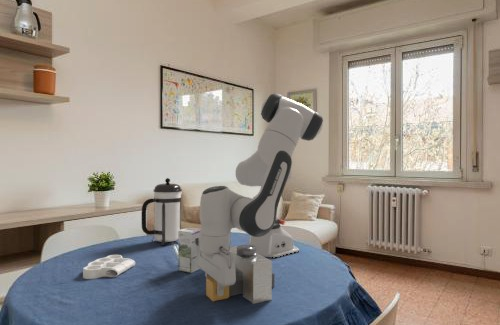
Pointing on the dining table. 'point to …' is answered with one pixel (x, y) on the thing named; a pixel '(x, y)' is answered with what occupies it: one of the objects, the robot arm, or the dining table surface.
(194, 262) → the syrup box
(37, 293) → the dining table surface
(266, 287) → the grey bridge block
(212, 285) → the grey and tan bar
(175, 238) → the coffee press
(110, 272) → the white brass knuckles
